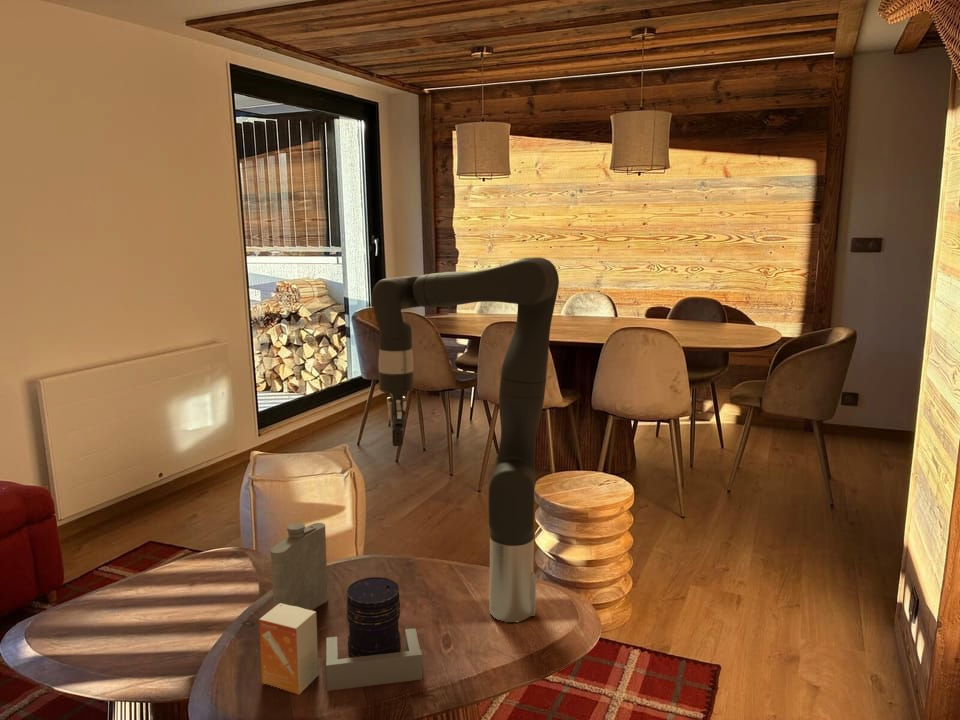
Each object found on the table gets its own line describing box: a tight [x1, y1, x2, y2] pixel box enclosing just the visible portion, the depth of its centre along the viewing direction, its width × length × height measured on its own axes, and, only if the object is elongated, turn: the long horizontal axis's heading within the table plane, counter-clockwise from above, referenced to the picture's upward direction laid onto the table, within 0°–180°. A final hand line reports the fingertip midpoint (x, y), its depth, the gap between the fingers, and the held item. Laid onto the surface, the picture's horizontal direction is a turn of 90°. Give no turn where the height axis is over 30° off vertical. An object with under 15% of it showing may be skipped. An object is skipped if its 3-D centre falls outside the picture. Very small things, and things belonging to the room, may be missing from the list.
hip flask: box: [270, 521, 329, 611], centre depth 153 cm, size 16×4×20 cm, turn 156°
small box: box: [258, 603, 319, 695], centre depth 131 cm, size 8×6×13 cm
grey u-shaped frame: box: [325, 628, 423, 692], centre depth 136 cm, size 17×10×5 cm, turn 102°
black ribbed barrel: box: [346, 576, 402, 658], centre depth 136 cm, size 10×10×15 cm
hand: (397, 445), depth 162 cm, fingers closed
